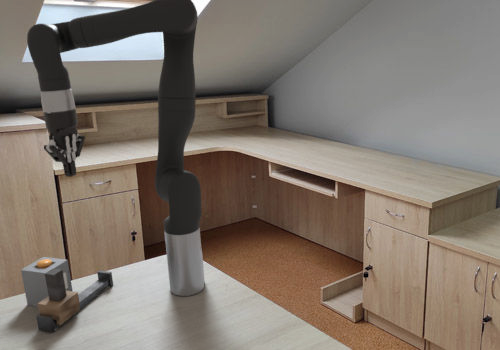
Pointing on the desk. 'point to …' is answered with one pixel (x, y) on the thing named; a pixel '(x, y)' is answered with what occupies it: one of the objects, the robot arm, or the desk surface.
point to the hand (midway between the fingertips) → (71, 175)
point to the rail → (86, 296)
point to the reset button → (44, 263)
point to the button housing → (42, 279)
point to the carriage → (58, 298)
